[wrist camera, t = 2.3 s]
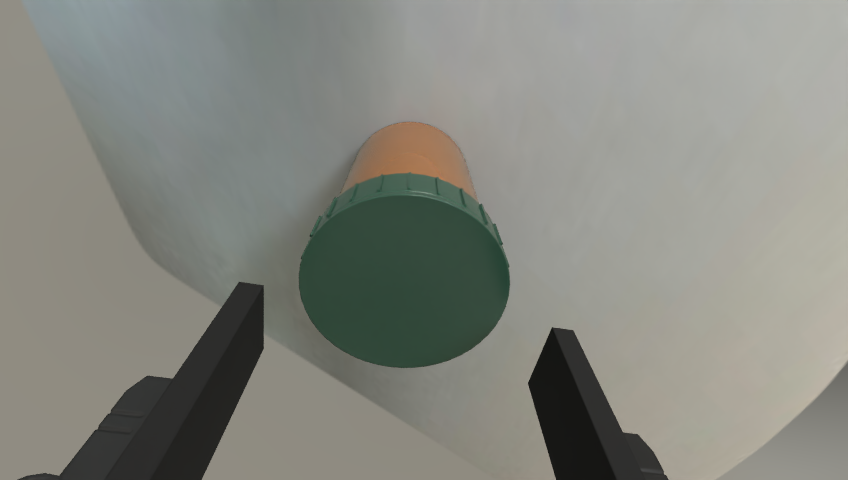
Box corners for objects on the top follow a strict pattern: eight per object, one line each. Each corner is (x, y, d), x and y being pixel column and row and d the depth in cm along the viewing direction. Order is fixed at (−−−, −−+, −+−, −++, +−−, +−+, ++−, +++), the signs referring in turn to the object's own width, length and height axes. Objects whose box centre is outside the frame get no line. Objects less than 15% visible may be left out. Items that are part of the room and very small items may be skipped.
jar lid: (305, 321, 20) (293, 356, 18) (316, 154, 16) (301, 174, 14) (475, 344, 21) (481, 379, 19) (525, 190, 17) (540, 214, 15)
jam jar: (347, 221, 28) (305, 343, 18) (359, 111, 25) (315, 182, 14) (454, 238, 29) (473, 365, 19) (480, 133, 26) (523, 217, 15)
